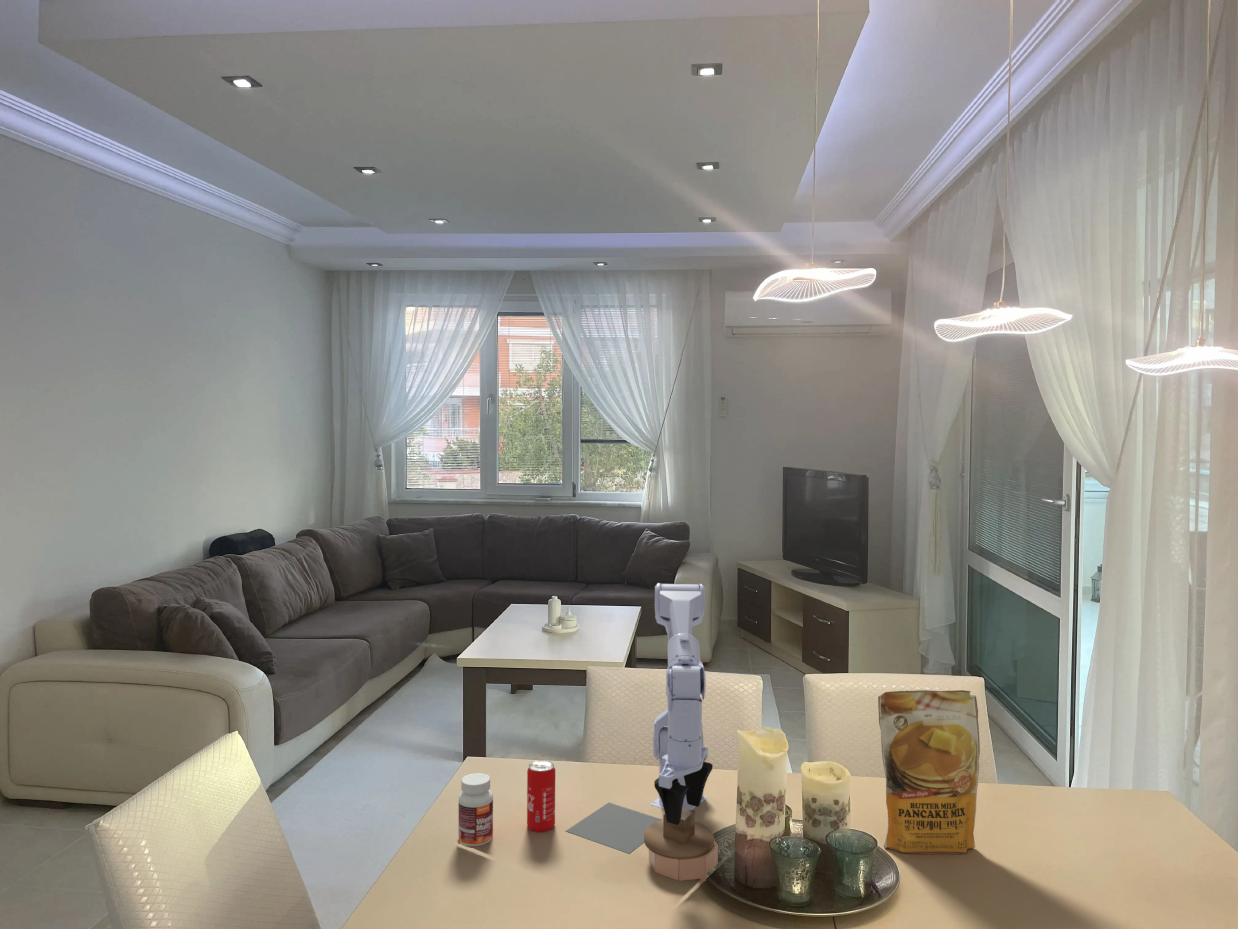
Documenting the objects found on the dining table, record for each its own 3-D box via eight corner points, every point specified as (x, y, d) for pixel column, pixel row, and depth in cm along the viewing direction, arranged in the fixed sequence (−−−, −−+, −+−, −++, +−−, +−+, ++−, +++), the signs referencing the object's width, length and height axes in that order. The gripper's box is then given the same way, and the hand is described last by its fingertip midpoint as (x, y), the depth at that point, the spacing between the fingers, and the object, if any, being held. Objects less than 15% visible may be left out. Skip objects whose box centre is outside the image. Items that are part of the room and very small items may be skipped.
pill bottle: (481, 851, 145) (481, 788, 145) (451, 844, 148) (451, 782, 147) (499, 836, 151) (499, 775, 150) (470, 829, 153) (470, 769, 153)
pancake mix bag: (868, 836, 152) (872, 686, 151) (971, 836, 152) (976, 687, 151) (880, 855, 146) (884, 698, 144) (988, 855, 146) (993, 699, 144)
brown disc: (664, 818, 150) (665, 791, 150) (725, 835, 144) (725, 807, 144) (631, 846, 140) (631, 817, 140) (694, 866, 134) (695, 836, 133)
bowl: (671, 842, 149) (671, 820, 149) (726, 860, 143) (726, 838, 143) (638, 869, 140) (638, 846, 140) (695, 890, 134) (696, 866, 134)
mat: (608, 805, 163) (608, 802, 163) (669, 825, 156) (669, 822, 156) (565, 834, 152) (565, 831, 152) (629, 857, 144) (629, 853, 144)
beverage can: (550, 837, 151) (550, 772, 150) (523, 834, 152) (523, 770, 151) (558, 823, 156) (558, 761, 155) (531, 820, 157) (532, 758, 156)
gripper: (683, 718, 149) (682, 792, 149) (643, 744, 136) (642, 824, 137) (719, 726, 145) (717, 801, 146) (681, 753, 133) (680, 836, 133)
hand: (683, 813), depth 141 cm, fingers open, 7 cm apart
